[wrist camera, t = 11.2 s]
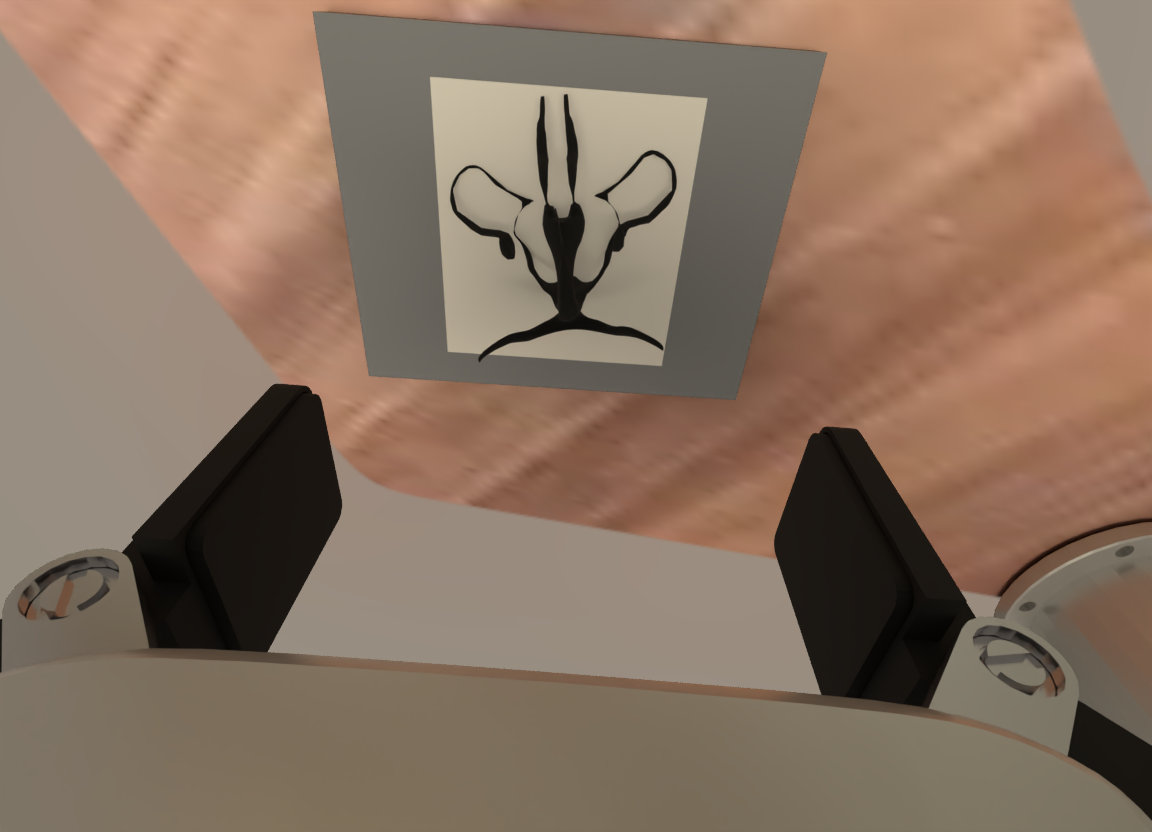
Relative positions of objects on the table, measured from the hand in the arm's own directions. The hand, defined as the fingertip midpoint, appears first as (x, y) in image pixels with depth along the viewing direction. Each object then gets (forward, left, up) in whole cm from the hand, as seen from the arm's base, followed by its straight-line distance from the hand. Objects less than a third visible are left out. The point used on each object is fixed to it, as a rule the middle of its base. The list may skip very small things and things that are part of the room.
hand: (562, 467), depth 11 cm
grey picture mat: (+1, 0, -14) cm, 14 cm away
